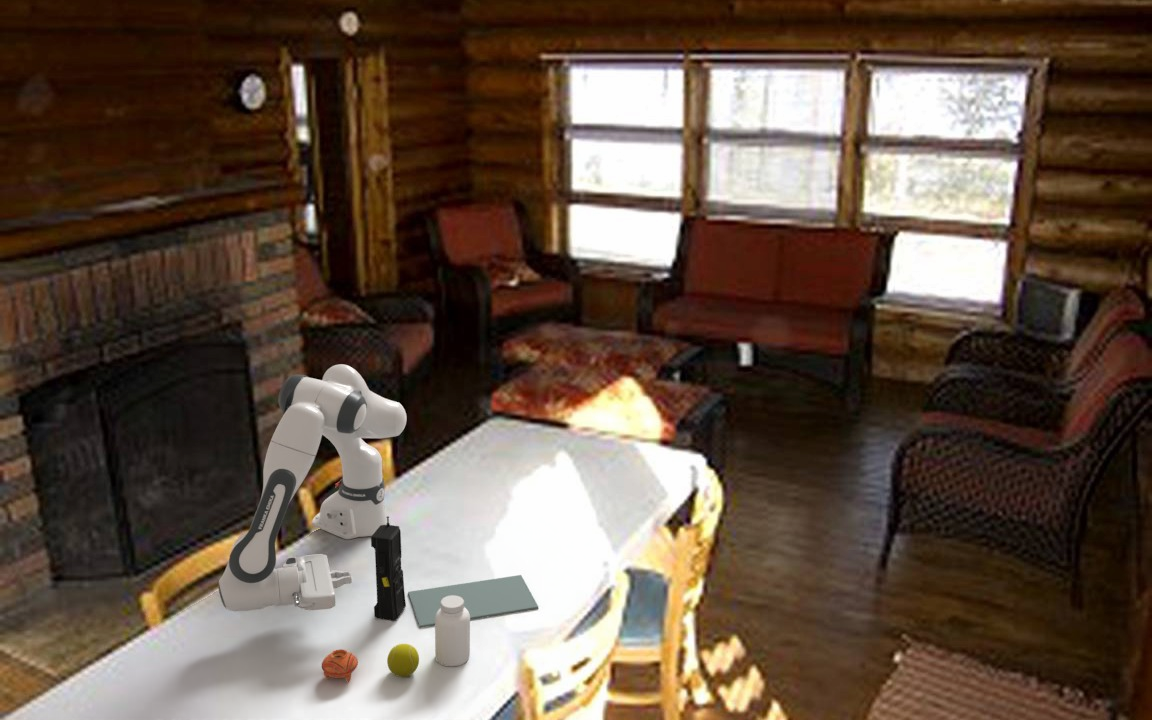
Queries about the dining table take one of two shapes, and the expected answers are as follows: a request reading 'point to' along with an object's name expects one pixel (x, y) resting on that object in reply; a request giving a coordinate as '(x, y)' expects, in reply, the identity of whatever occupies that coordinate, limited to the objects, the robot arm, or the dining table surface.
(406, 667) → the tennis ball
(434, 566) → the dining table surface
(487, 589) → the mat
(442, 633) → the pill bottle
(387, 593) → the portable radio
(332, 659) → the pot
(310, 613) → the dining table surface
